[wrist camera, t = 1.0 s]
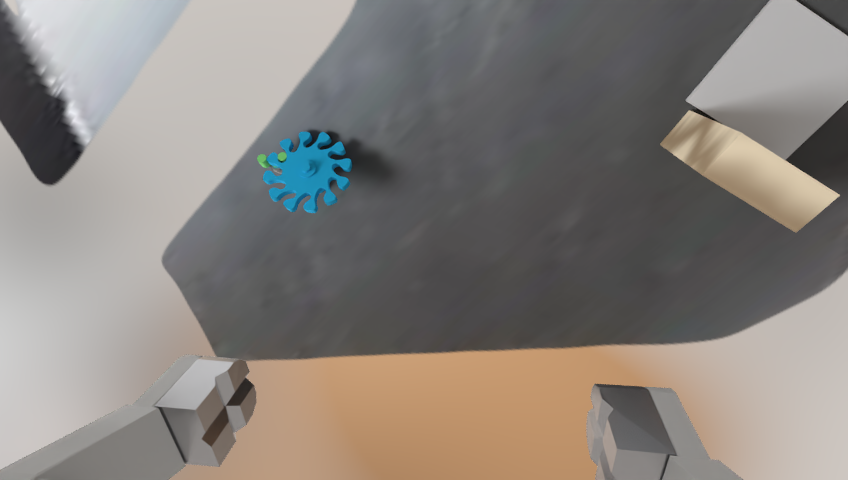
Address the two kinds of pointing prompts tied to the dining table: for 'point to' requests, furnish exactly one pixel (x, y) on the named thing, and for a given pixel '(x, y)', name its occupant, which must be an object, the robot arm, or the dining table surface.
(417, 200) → the dining table surface
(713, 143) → the birch slab
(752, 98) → the mat
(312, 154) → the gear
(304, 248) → the dining table surface
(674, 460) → the robot arm
